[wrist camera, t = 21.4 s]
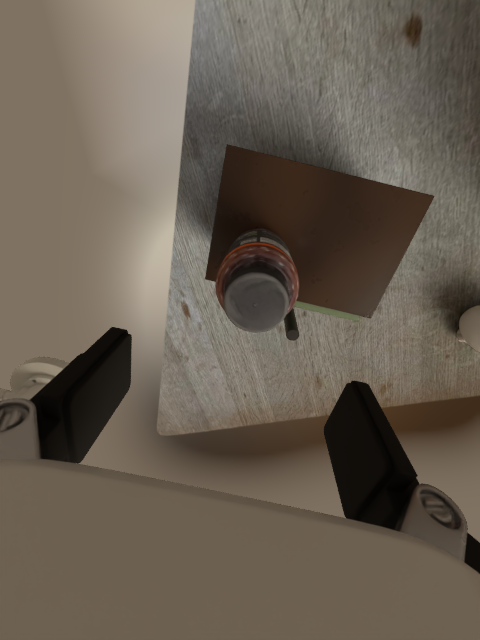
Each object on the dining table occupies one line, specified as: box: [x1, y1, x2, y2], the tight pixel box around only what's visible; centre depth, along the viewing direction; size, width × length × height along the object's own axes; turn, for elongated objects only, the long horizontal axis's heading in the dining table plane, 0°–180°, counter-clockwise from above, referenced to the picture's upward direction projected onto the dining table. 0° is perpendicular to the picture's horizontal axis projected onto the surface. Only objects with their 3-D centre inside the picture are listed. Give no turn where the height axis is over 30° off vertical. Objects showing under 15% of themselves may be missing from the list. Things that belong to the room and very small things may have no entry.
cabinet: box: [205, 144, 434, 318], centre depth 31 cm, size 18×12×14 cm, turn 78°
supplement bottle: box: [216, 229, 299, 333], centre depth 21 cm, size 6×6×11 cm
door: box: [284, 301, 360, 340], centre depth 36 cm, size 9×6×12 cm
